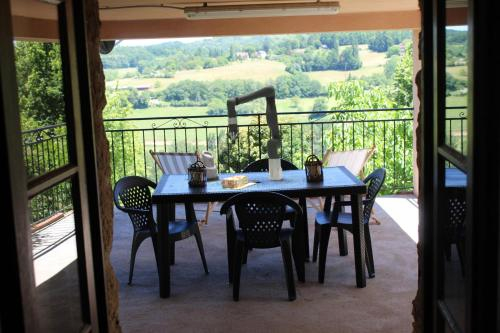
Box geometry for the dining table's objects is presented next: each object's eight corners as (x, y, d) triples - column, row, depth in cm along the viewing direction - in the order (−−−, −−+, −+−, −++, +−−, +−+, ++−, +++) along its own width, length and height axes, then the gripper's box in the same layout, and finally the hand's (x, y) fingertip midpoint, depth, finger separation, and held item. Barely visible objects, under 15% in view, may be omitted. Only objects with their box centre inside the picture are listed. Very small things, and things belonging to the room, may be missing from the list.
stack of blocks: (238, 174, 543) (251, 175, 535) (238, 182, 544) (251, 183, 536) (221, 179, 526) (234, 180, 518) (221, 187, 527) (234, 188, 519)
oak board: (256, 183, 538) (256, 182, 538) (240, 189, 516) (240, 188, 516) (240, 182, 545) (240, 182, 545) (223, 188, 523) (223, 188, 522)
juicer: (224, 179, 565) (222, 150, 561) (210, 182, 553) (208, 152, 550) (199, 177, 585) (197, 148, 581) (185, 179, 573) (183, 150, 570)
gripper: (242, 122, 553) (243, 144, 555) (228, 122, 559) (229, 144, 562) (237, 123, 546) (238, 145, 549) (223, 123, 553) (224, 145, 555)
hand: (233, 144), depth 555 cm, fingers closed
